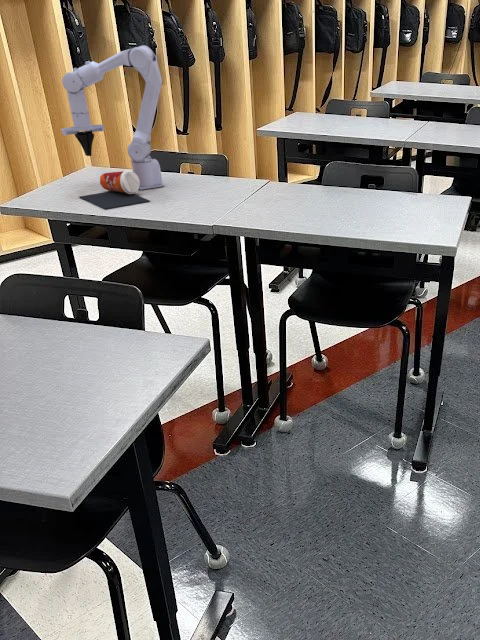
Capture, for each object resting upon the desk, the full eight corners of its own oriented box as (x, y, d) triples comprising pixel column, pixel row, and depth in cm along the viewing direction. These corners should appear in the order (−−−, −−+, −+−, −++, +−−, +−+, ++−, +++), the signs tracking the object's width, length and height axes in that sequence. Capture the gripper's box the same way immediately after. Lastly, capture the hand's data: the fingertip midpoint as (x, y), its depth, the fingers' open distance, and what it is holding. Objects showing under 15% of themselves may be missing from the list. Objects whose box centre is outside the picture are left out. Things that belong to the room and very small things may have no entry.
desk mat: (122, 190, 234) (122, 189, 234) (149, 201, 222) (149, 200, 222) (79, 197, 226) (79, 196, 225) (105, 209, 214) (105, 208, 213)
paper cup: (93, 178, 228) (118, 179, 220) (106, 165, 231) (132, 165, 223) (106, 198, 234) (131, 199, 226) (119, 185, 237) (145, 185, 229)
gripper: (94, 109, 231) (102, 151, 239) (54, 113, 223) (64, 156, 231) (103, 111, 227) (111, 154, 235) (62, 115, 219) (72, 159, 227)
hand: (88, 155), depth 233 cm, fingers closed
